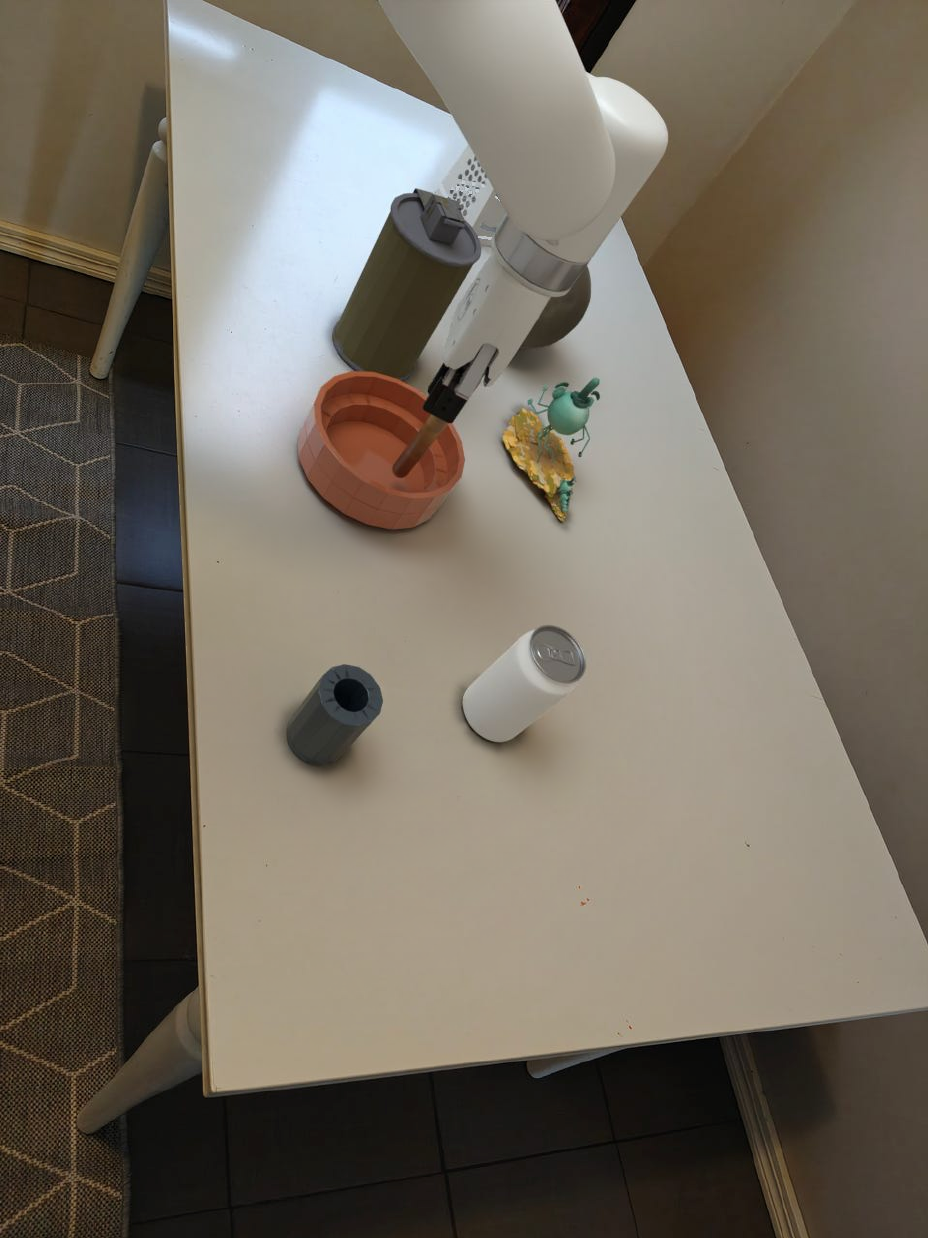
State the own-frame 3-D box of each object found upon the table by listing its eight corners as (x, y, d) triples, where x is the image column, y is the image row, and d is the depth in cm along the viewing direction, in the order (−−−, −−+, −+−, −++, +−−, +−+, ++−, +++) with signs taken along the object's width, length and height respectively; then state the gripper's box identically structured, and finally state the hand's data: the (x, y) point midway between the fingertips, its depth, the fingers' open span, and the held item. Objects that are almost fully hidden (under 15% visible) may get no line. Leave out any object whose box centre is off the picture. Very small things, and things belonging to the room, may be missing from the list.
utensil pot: (278, 753, 69) (311, 711, 63) (295, 699, 72) (328, 654, 66) (337, 775, 71) (374, 736, 65) (351, 720, 74) (388, 679, 68)
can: (457, 677, 82) (521, 614, 73) (515, 687, 84) (584, 627, 76) (463, 739, 78) (531, 681, 70) (523, 748, 81) (596, 692, 72)
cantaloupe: (459, 284, 117) (514, 189, 106) (547, 326, 122) (608, 240, 111) (456, 349, 109) (515, 254, 98) (550, 392, 114) (616, 305, 103)
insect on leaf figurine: (508, 510, 98) (576, 412, 88) (485, 410, 109) (543, 313, 99) (578, 529, 102) (651, 437, 92) (549, 431, 113) (611, 339, 103)
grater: (463, 242, 123) (535, 112, 109) (434, 192, 127) (500, 60, 112) (517, 249, 130) (592, 128, 115) (488, 202, 133) (557, 78, 119)
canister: (423, 388, 102) (507, 251, 87) (343, 377, 96) (419, 228, 82) (399, 322, 106) (475, 182, 92) (321, 308, 101) (389, 155, 86)
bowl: (275, 488, 83) (295, 448, 79) (317, 387, 93) (337, 346, 89) (425, 557, 88) (451, 523, 83) (449, 454, 98) (474, 418, 94)
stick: (387, 475, 88) (467, 371, 77) (390, 464, 89) (470, 359, 78) (402, 484, 89) (484, 381, 77) (405, 472, 90) (486, 370, 79)
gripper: (510, 178, 72) (418, 340, 85) (487, 276, 62) (387, 442, 76) (585, 225, 74) (483, 376, 87) (574, 326, 64) (461, 479, 78)
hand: (439, 405), depth 81 cm, fingers closed on stick, 1 cm apart
